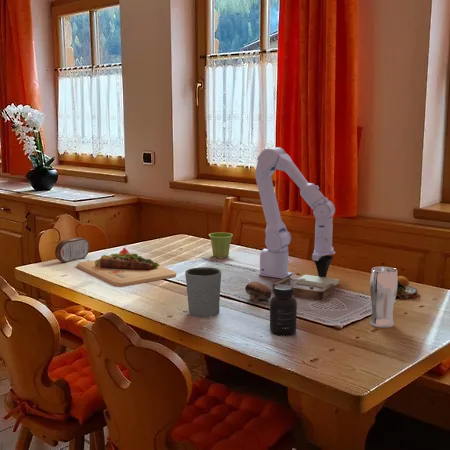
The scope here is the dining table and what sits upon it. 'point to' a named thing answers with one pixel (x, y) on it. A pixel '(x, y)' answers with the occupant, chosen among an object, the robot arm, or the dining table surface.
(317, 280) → the door
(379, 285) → the beer glass
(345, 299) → the dining table surface
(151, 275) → the cutting board
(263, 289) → the mushroom
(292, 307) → the supplement bottle
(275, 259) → the robot arm
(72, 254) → the tin
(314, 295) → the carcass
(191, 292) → the grey tapered cup
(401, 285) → the salad plate
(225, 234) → the plant pot
